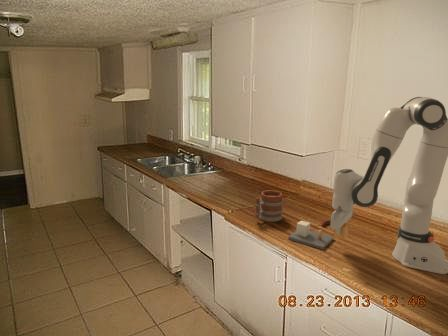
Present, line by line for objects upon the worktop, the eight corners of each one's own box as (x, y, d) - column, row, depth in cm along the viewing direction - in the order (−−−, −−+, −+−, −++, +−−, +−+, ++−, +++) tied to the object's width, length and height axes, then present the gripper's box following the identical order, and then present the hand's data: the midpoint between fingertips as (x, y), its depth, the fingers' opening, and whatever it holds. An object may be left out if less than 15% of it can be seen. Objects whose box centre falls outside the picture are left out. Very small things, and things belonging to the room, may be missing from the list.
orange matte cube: (347, 235, 158) (348, 224, 157) (344, 239, 154) (344, 227, 153) (337, 233, 161) (337, 221, 160) (333, 237, 157) (334, 225, 156)
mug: (287, 218, 195) (289, 193, 192) (263, 226, 184) (265, 200, 180) (270, 211, 206) (271, 187, 202) (247, 218, 195) (247, 193, 191)
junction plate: (333, 239, 169) (334, 225, 168) (322, 249, 159) (324, 235, 157) (300, 229, 180) (301, 216, 178) (288, 239, 169) (289, 225, 167)
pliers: (353, 221, 193) (353, 217, 193) (341, 233, 178) (341, 228, 177) (333, 216, 200) (334, 212, 200) (320, 227, 185) (320, 223, 184)
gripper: (341, 212, 144) (340, 241, 147) (356, 199, 160) (354, 226, 163) (327, 209, 148) (326, 238, 151) (342, 197, 164) (341, 223, 167)
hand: (340, 231), depth 157 cm, fingers closed on orange matte cube, 5 cm apart
